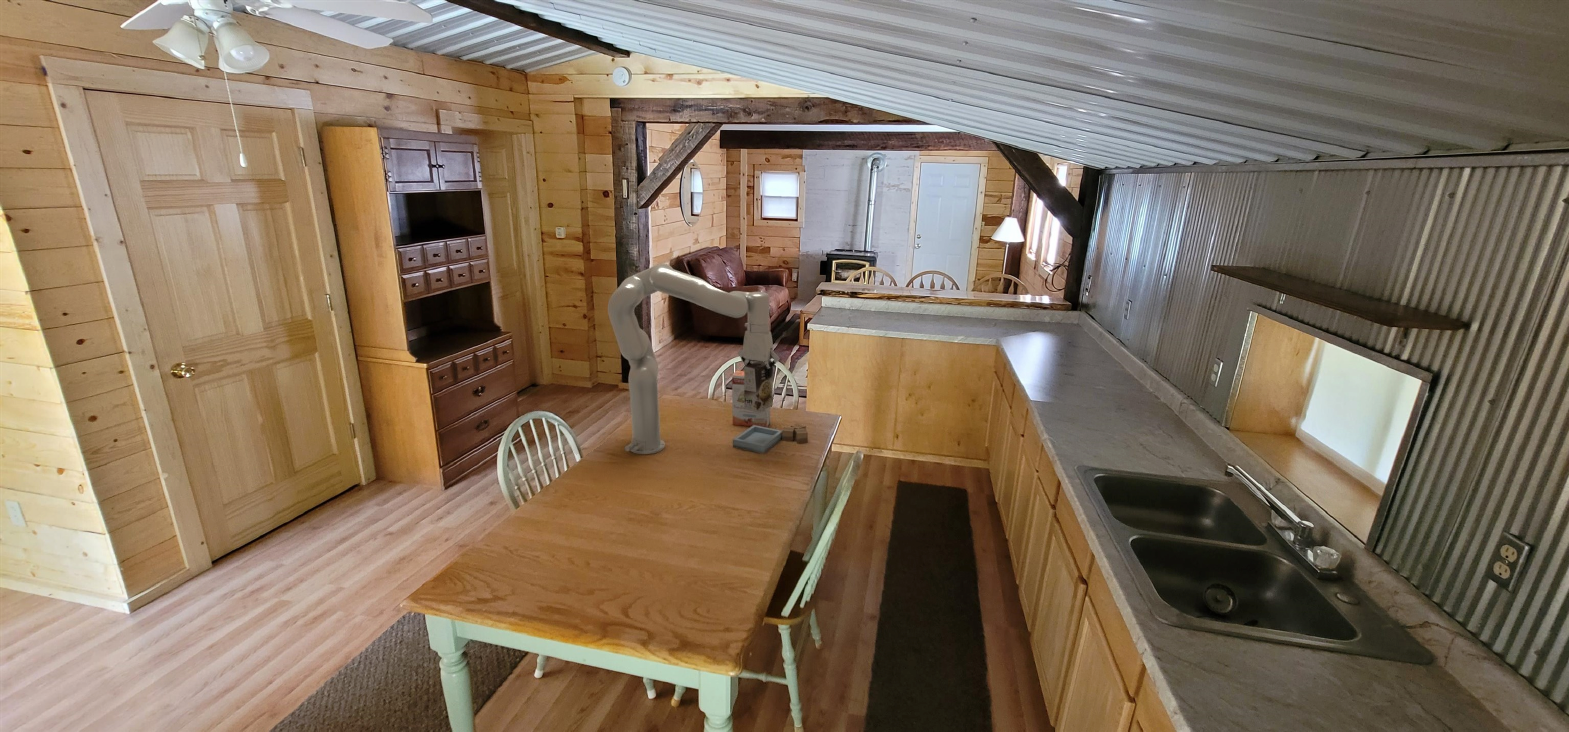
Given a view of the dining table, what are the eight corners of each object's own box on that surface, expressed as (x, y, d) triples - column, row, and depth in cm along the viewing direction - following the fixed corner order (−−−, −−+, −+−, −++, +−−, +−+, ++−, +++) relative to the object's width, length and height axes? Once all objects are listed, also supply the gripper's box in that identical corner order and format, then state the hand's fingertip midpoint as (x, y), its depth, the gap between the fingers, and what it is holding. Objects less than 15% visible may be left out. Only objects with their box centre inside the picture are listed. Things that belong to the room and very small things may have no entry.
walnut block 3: (807, 442, 237) (807, 432, 236) (797, 443, 236) (797, 433, 235) (804, 438, 241) (804, 428, 240) (794, 439, 240) (794, 429, 239)
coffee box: (757, 413, 227) (757, 369, 222) (743, 408, 231) (743, 365, 226) (773, 406, 234) (773, 363, 229) (759, 402, 238) (759, 360, 233)
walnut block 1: (792, 441, 238) (792, 431, 237) (782, 440, 239) (782, 430, 238) (794, 437, 242) (794, 427, 241) (784, 436, 242) (784, 426, 241)
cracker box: (732, 425, 252) (731, 374, 246) (736, 419, 258) (735, 369, 252) (766, 428, 249) (767, 377, 243) (770, 423, 255) (770, 372, 249)
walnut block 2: (798, 438, 241) (798, 428, 239) (790, 435, 243) (790, 425, 242) (805, 435, 243) (805, 425, 242) (798, 432, 246) (798, 422, 245)
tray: (763, 453, 227) (763, 445, 226) (732, 446, 232) (732, 439, 231) (782, 438, 240) (783, 430, 239) (753, 432, 245) (753, 424, 245)
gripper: (731, 327, 224) (732, 376, 229) (775, 333, 217) (775, 383, 222) (742, 323, 231) (742, 370, 236) (785, 328, 223) (785, 377, 228)
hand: (758, 376), depth 229 cm, fingers closed on coffee box, 7 cm apart
